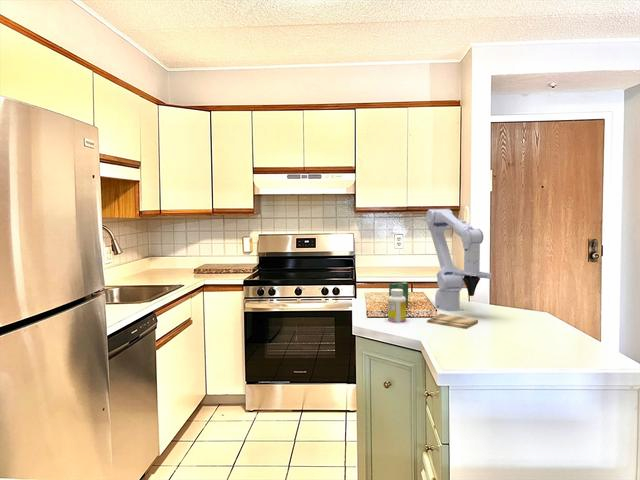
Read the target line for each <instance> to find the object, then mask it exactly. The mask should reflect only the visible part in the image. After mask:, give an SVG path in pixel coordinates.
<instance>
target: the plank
mask: <svg viewBox="0 0 640 480" xmlns="http://www.w3.org/2000/svg"><path fill="white" fill-rule="evenodd" d="M430 319H434V320H441V321H447V322H453V323H459V324H465V325H469V328H471V327H472V326H474V325H475V324H477V323H479V318H471V317H466V316H458V315H453V314H445V313H439V314H437V315H434V316H432V317H431V318H430Z"/></svg>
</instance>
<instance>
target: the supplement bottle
mask: <svg viewBox="0 0 640 480" xmlns="http://www.w3.org/2000/svg"><path fill="white" fill-rule="evenodd" d="M387 302H388V303H387V312H388V314H387V316H388V317H387V318H388V322H390V323H395V324H396V323H399V324H401V323H405V322H406V321H407V312H406V298H405V297H404V296H403V290H402V289H391V296H390V297H389V296H388V298H387Z"/></svg>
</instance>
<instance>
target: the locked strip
mask: <svg viewBox="0 0 640 480" xmlns="http://www.w3.org/2000/svg"><path fill="white" fill-rule="evenodd" d="M426 323H427V324H428V323H429V324H434V325H439V326H440V325H441V326H447V327H451V328H452V327H453V328H458V329H464V330H467V329H469V328H470V327H469V325H465V324H459V323H453V322H447V321H441V320H434V319H431V318H428V319H427V320H426Z"/></svg>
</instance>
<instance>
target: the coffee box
mask: <svg viewBox="0 0 640 480" xmlns="http://www.w3.org/2000/svg"><path fill="white" fill-rule="evenodd" d="M388 284H389V285H388V287H389V288H388V298H389V297H390V296H391V289H402V290H403V296H404V297H405V298H406V308H408V309H409V282H393V283H391V282H389V283H388Z"/></svg>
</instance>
